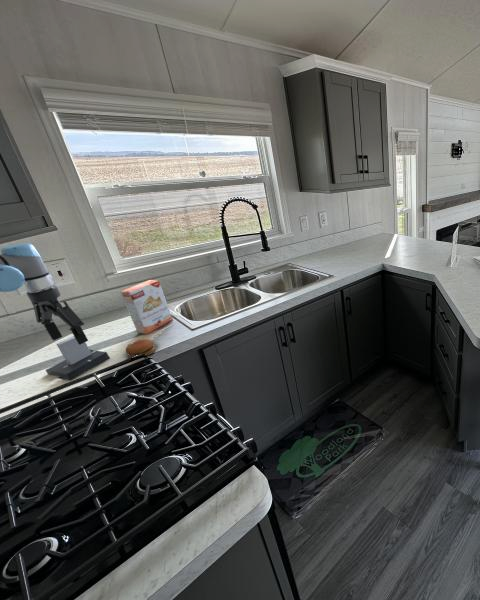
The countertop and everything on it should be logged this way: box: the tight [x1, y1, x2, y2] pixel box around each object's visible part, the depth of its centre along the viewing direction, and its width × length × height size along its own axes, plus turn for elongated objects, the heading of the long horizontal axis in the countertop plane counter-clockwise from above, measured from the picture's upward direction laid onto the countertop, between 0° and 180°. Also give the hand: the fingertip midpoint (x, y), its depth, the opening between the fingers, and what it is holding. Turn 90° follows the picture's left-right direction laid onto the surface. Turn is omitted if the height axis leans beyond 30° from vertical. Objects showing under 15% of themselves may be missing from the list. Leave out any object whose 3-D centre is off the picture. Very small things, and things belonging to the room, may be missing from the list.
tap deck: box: [45, 348, 111, 382], centre depth 125 cm, size 14×11×3 cm
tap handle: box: [56, 335, 91, 365], centre depth 123 cm, size 7×2×9 cm, turn 165°
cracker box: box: [119, 279, 174, 335], centre depth 149 cm, size 14×6×21 cm, turn 165°
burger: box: [125, 338, 157, 359], centre depth 132 cm, size 10×9×5 cm
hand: (70, 340), depth 122 cm, fingers open, 13 cm apart
